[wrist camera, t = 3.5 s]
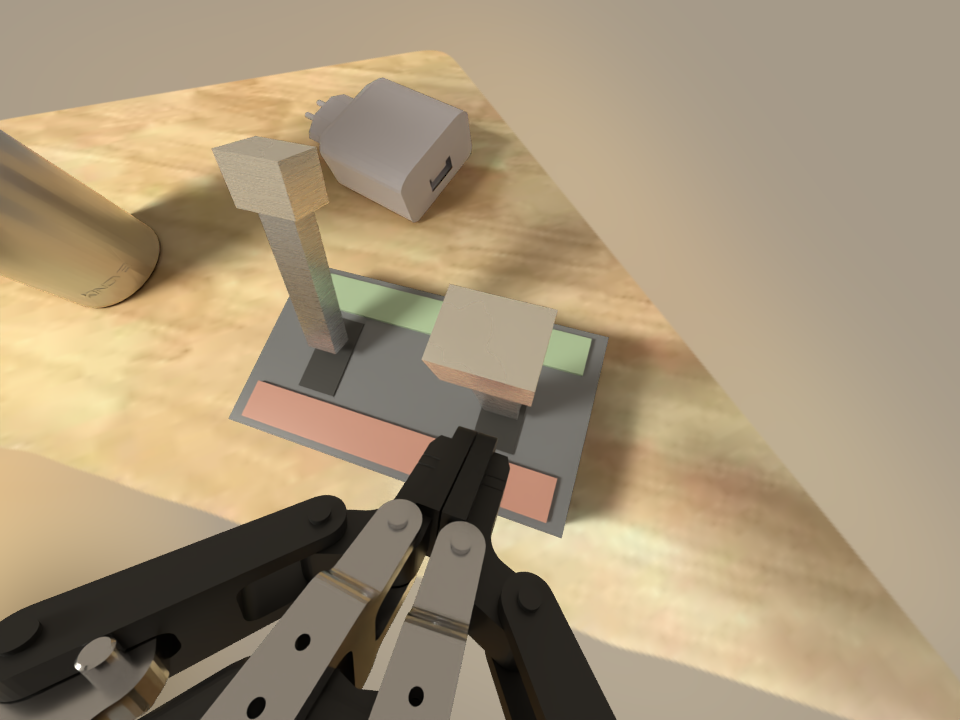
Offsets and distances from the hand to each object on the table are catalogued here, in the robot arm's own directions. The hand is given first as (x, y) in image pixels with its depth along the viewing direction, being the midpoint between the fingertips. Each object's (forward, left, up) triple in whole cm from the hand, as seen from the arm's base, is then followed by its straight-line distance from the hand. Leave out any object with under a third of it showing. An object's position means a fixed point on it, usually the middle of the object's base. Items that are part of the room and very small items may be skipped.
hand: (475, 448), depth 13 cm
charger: (-27, +11, -12) cm, 32 cm away
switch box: (-7, 0, -12) cm, 14 cm away
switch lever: (-2, +3, -8) cm, 9 cm away
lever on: (-12, -3, -8) cm, 15 cm away
